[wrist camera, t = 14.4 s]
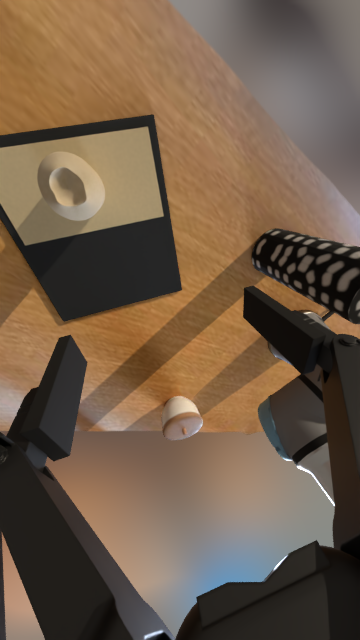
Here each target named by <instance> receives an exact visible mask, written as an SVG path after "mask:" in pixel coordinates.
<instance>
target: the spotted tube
mask: <svg viewBox="0 0 360 640" xmlns="http://www.w3.org/2000/svg"><path fill="white" fill-rule="evenodd" d="M252 263H253V266H254V267H255V268H256V269H257V270H258V271H260V272H262V273H264V274H265V275H267V276H269V277H271V278H273V279H275V280H276V281H278V282H280V283H282V284H284V285H285V286H287V287H289V288H291V289H293V290H294V291H296V292H298V293H300V294H302V295H303V296H305V297H307V298H309V299H311V300H312V301H314V302H316V303H318V304H320V305H321V306H323V307H325V308H327V309H329V310H330V311H332V312H334V313H336V314H338V315H339V316H341V317H343V318H345V319H347V320H348V321H350V322H352V323H354V324H360V247H357V246H352V245H348V244H344V243H339V242H335V241H331V240H326V239H322V238H318V237H313V236H309V235H305V234H300V233H296V232H292V231H287V230H283V229H272V230H269V231H267V232H266V233H264V234H263V235H262V236H261V237H260V238H259V239H258V241H257V242H256V244H255V246H254V248H253V252H252Z"/></svg>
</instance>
